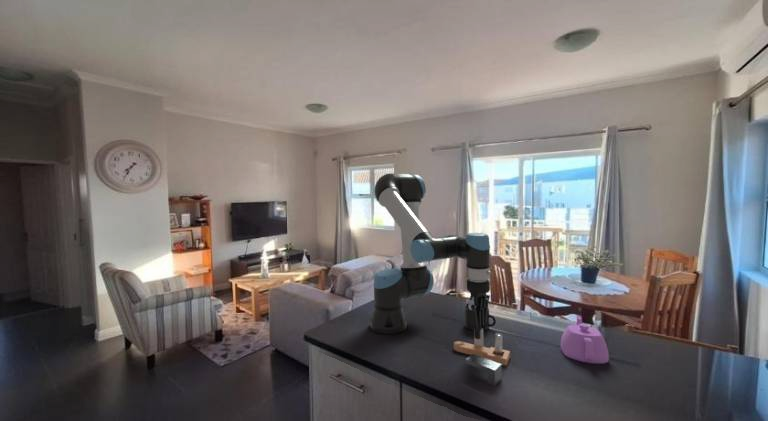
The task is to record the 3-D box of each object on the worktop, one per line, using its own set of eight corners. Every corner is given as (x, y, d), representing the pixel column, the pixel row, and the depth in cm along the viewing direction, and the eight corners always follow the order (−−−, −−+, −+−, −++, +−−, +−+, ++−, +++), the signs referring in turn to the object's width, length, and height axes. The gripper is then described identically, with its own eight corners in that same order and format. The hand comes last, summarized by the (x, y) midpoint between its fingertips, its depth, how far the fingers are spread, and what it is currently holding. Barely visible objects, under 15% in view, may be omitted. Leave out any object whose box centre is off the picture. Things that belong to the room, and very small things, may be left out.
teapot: (599, 346, 112) (599, 316, 112) (616, 376, 94) (616, 340, 93) (556, 340, 117) (557, 311, 117) (564, 368, 99) (565, 333, 98)
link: (509, 357, 103) (509, 351, 103) (506, 365, 98) (506, 359, 98) (456, 344, 112) (456, 339, 112) (451, 351, 107) (451, 345, 107)
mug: (493, 338, 120) (493, 314, 119) (462, 332, 125) (462, 309, 125) (497, 329, 128) (497, 307, 128) (467, 323, 134) (467, 302, 133)
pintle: (493, 359, 102) (493, 335, 102) (496, 356, 104) (496, 333, 103) (500, 362, 100) (500, 337, 100) (503, 359, 102) (503, 335, 102)
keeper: (465, 374, 94) (465, 359, 94) (472, 368, 97) (472, 353, 97) (494, 386, 88) (494, 370, 87) (501, 379, 91) (501, 364, 91)
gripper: (480, 286, 99) (480, 358, 101) (496, 276, 108) (497, 342, 110) (458, 281, 104) (459, 350, 106) (476, 273, 113) (477, 336, 115)
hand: (478, 346), depth 108 cm, fingers closed
